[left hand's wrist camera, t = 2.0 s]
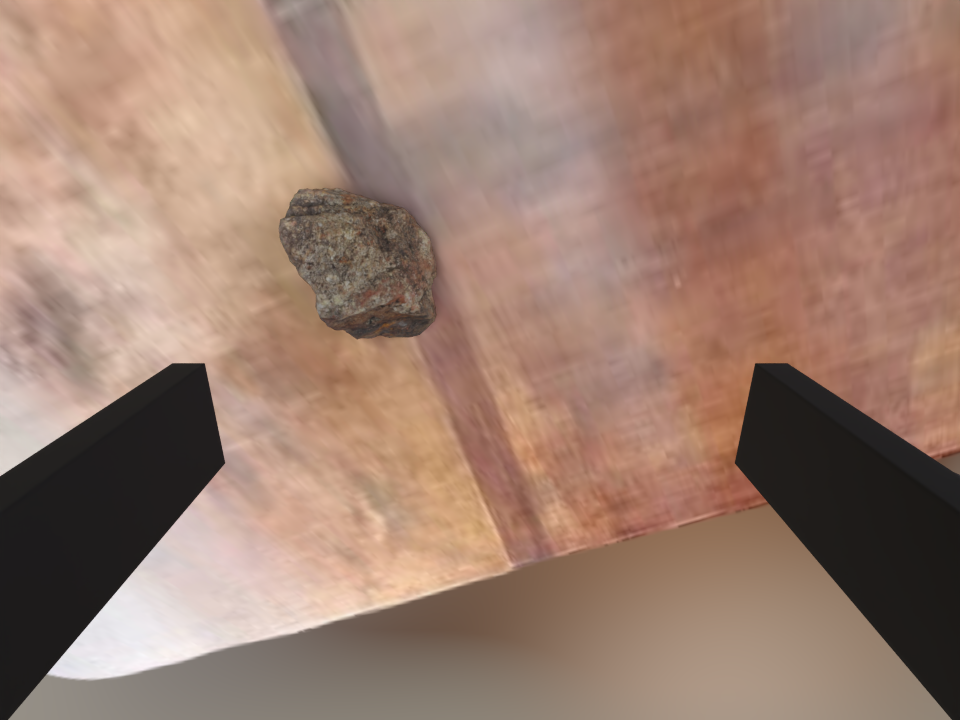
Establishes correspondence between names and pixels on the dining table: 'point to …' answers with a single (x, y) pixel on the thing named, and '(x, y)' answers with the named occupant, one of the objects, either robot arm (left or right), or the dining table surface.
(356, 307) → the rock
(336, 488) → the dining table surface
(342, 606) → the dining table surface
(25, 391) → the dining table surface
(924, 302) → the dining table surface
